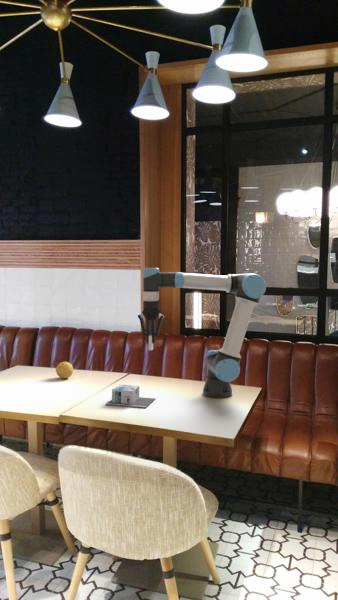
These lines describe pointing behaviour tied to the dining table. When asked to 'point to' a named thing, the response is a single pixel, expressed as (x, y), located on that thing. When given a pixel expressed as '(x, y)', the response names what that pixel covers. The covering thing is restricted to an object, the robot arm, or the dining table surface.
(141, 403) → the mat
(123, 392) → the light bulb box
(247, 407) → the dining table surface
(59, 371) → the stress ball
